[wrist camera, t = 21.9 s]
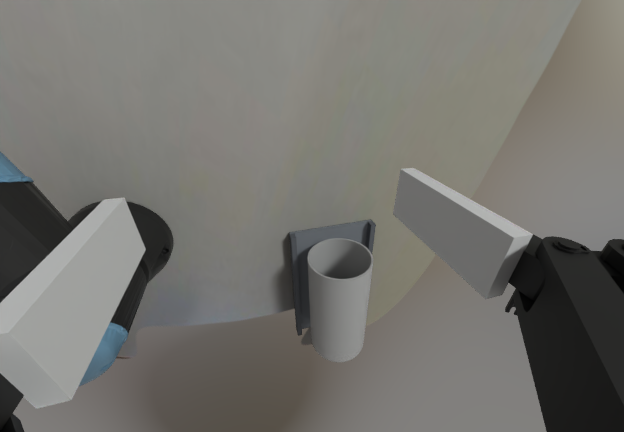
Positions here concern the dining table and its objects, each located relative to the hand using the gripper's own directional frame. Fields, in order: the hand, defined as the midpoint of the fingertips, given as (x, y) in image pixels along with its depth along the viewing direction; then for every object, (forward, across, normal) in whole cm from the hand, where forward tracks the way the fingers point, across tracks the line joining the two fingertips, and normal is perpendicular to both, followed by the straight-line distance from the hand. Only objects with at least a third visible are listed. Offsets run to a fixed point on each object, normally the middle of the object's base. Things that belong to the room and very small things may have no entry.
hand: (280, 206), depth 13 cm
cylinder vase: (+25, +14, -51) cm, 58 cm away
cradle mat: (+32, +14, -38) cm, 51 cm away
